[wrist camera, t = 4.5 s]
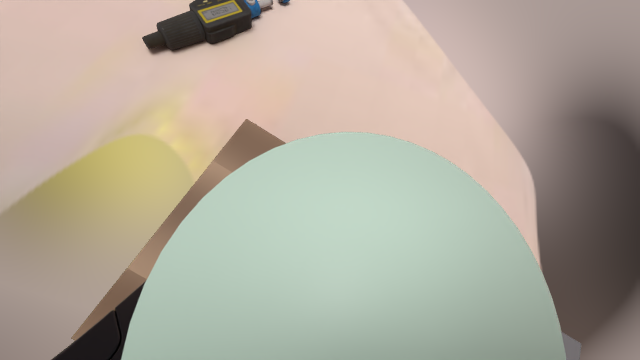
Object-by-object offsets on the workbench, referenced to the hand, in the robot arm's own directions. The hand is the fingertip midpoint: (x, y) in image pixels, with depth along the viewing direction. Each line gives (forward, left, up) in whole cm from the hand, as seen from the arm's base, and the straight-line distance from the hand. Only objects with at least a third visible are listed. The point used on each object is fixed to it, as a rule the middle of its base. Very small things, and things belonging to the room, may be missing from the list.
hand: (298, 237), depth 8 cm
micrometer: (+12, +13, -9) cm, 20 cm away
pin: (-1, -1, -7) cm, 7 cm away
